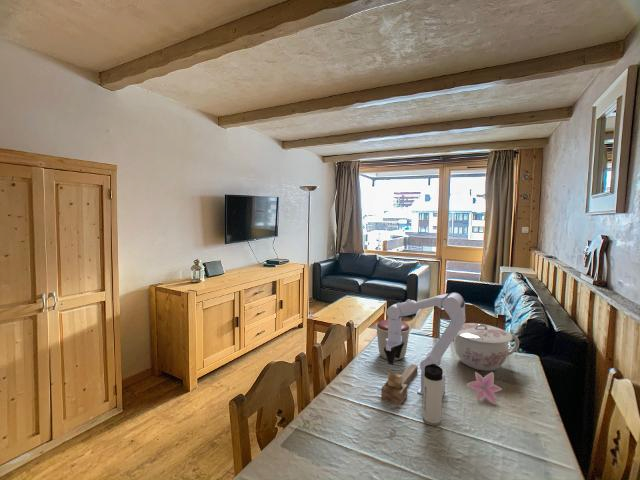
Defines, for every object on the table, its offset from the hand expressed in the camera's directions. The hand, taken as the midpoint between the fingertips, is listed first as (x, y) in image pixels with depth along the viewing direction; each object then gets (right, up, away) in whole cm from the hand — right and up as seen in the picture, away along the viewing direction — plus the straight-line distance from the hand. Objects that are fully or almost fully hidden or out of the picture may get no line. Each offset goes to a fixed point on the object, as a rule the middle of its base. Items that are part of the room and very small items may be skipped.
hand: (393, 360), depth 146 cm
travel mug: (+8, -12, -27) cm, 31 cm away
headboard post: (+4, -10, -3) cm, 11 cm away
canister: (+5, -8, +26) cm, 28 cm away
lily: (+34, -11, -12) cm, 38 cm away
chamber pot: (+47, -9, +17) cm, 51 cm away
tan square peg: (-3, -9, -12) cm, 15 cm away
